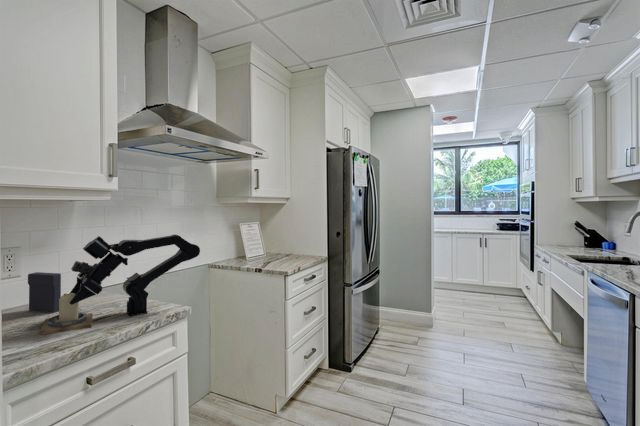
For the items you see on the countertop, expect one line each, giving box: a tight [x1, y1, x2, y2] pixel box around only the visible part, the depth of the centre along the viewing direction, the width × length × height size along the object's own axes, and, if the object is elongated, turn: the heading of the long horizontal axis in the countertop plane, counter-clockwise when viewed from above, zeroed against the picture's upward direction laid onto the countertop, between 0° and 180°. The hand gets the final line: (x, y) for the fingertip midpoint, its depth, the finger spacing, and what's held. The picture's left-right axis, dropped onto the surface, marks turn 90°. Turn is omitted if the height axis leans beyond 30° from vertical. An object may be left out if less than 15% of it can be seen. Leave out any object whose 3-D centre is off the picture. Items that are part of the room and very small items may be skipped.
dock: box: [38, 311, 94, 335], centre depth 117 cm, size 14×14×2 cm
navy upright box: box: [27, 271, 62, 314], centre depth 131 cm, size 11×4×15 cm, turn 84°
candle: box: [58, 292, 80, 322], centre depth 118 cm, size 6×6×10 cm
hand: (69, 300), depth 117 cm, fingers open, 9 cm apart
